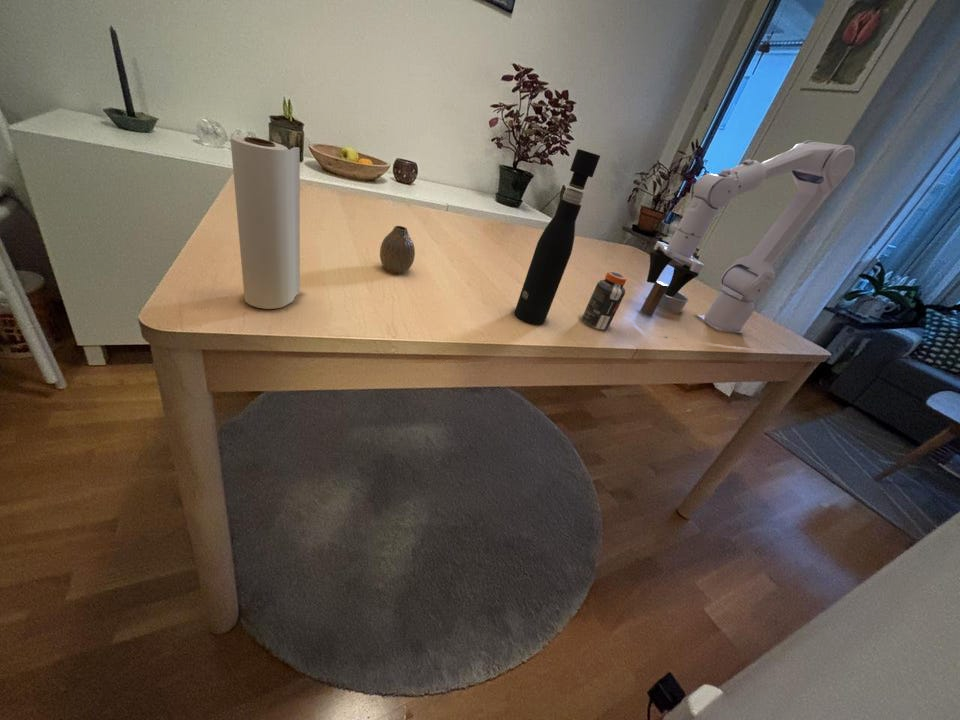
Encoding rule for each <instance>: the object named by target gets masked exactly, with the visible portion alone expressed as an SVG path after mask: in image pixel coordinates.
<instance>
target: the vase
mask: <svg viewBox="0 0 960 720" xmlns="http://www.w3.org/2000/svg"><path fill="white" fill-rule="evenodd" d="M415 255H416V249H415V244H414V241H413V240H412V238H411V236H410V234H409V232H408V228H407V227H405V226H402V225H394V227H393V229H392V230H391V231H390V232H389V233H388V234H387V235H386V236H385V237H384V238H383V240H382V241H381V243H380V248H379V258H380V262H381V265H382V266H383V268H384V269H385V270H386V271H387V272H389V273H393V274H400V275H401V274H404V273H406V272H408V271H409V270H410V269H411V268H412V266H413V264H414V261H415Z"/></svg>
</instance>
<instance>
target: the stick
mask: <svg viewBox="0 0 960 720" xmlns="http://www.w3.org/2000/svg"><path fill="white" fill-rule="evenodd" d="M668 286H669V284H667V283H665V282H663V281H658V280H657V281H656V282H655V283H653V285H652V287H651V289H650V291H649V293H648V295H647V297H646V299H645V300H644V303H643V304H642V306H641V308H640V309H639V310H640V312H642V313H643V314H644V315H645V316H653V315H654V313H655V311H656V309H657V308H658V304H659V302H660V300H661V298H662V297H663V295H664V293H665V291H666V289H667V288H668Z"/></svg>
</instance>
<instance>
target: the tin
mask: <svg viewBox="0 0 960 720" xmlns="http://www.w3.org/2000/svg"><path fill="white" fill-rule="evenodd" d="M666 290H667V289H666ZM665 293H666V291H665ZM665 293H664V295H663V297H662V298H661V300H660V302H659V304H658V306H657V308H660V309H662V310H665V311H667V312H670V313H675V314H676V313H677V314H680V313H682V312H683V310H684V308H685V307H686V306H687V303H688V302H689V298H688V297H687V296H686V295H685V294H683V293H681V292H679V291H678V292H677V293H676V294H675V295H674V297H671V296H667V295H665Z"/></svg>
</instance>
